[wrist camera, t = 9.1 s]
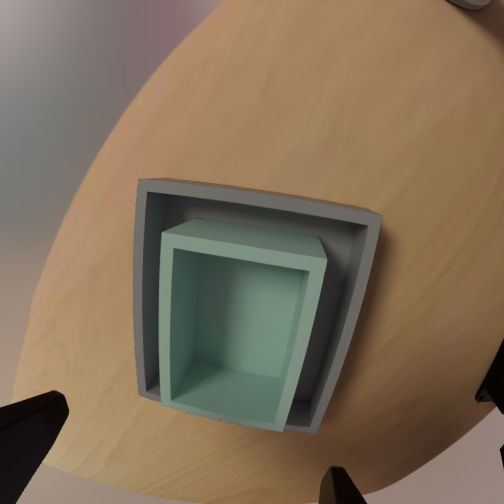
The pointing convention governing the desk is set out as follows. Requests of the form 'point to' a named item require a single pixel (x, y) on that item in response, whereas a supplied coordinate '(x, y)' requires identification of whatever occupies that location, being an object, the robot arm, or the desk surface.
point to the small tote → (236, 319)
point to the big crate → (268, 216)
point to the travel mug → (471, 3)
